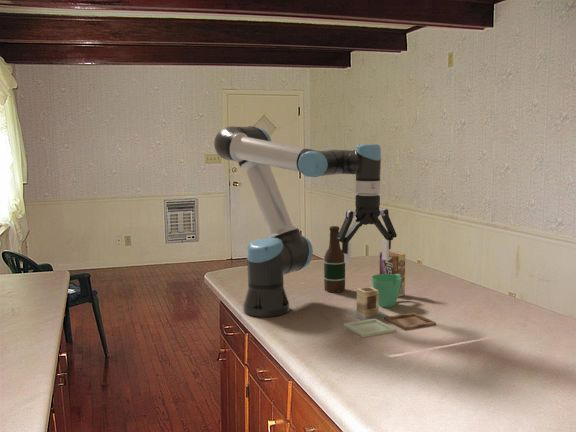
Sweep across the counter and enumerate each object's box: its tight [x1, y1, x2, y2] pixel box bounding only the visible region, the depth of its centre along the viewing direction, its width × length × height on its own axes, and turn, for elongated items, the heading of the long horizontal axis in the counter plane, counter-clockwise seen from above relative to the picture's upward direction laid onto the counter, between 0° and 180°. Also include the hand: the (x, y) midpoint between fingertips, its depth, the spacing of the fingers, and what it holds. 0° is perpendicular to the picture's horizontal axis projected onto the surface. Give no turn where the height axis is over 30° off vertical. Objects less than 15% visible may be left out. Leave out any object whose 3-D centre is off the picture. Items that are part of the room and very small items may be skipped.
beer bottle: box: [323, 225, 346, 294], centre depth 210 cm, size 8×8×24 cm
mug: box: [371, 273, 402, 308], centre depth 191 cm, size 15×10×10 cm
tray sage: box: [343, 318, 397, 339], centre depth 166 cm, size 11×11×1 cm
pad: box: [345, 309, 389, 321], centre depth 179 cm, size 10×10×1 cm
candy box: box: [379, 251, 406, 298], centre depth 203 cm, size 9×4×15 cm, turn 39°
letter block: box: [356, 286, 380, 317], centre depth 179 cm, size 5×5×8 cm
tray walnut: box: [383, 312, 437, 331], centre depth 171 cm, size 11×11×1 cm
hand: (366, 261), depth 177 cm, fingers open, 13 cm apart
